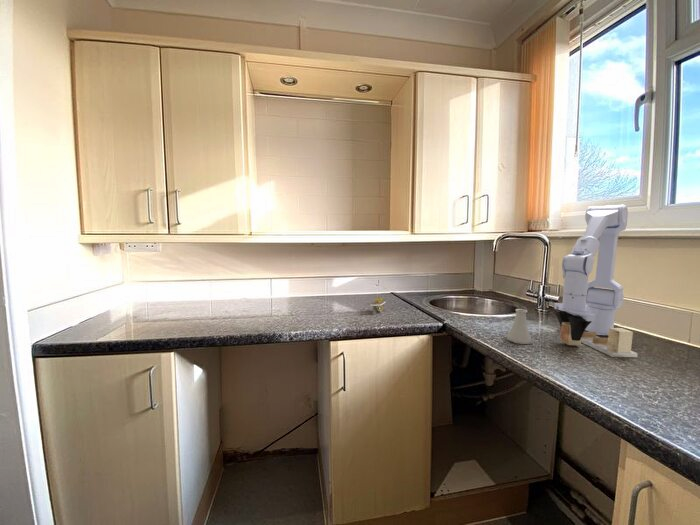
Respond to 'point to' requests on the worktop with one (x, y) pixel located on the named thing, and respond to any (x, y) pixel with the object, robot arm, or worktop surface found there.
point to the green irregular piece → (377, 305)
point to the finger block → (567, 334)
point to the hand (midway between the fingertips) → (570, 337)
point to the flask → (519, 329)
